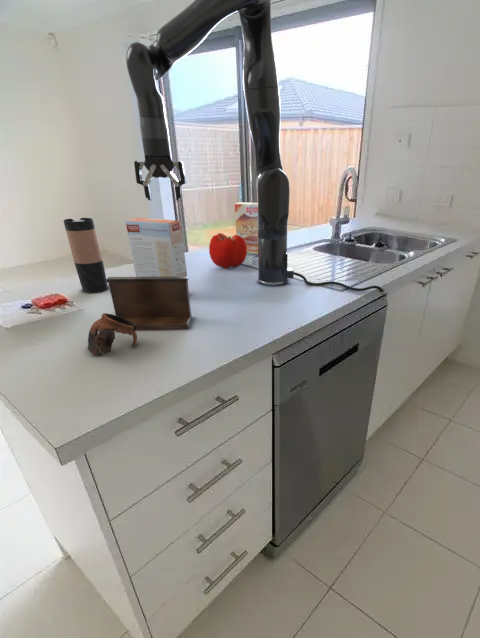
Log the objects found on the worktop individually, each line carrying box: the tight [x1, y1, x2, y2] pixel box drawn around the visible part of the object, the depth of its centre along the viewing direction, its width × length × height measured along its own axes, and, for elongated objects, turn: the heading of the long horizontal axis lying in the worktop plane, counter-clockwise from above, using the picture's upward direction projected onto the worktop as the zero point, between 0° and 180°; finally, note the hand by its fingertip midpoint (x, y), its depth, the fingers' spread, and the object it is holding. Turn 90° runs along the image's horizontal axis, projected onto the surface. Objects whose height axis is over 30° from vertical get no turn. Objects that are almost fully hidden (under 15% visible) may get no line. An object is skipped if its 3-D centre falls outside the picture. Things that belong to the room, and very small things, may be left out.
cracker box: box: [125, 217, 190, 292], centre depth 105 cm, size 14×6×21 cm, turn 71°
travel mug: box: [63, 217, 109, 294], centre depth 109 cm, size 8×8×20 cm
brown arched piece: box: [87, 313, 138, 356], centre depth 78 cm, size 12×10×8 cm
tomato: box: [208, 232, 248, 270], centre depth 136 cm, size 13×14×12 cm
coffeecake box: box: [234, 201, 258, 256], centre depth 154 cm, size 15×7×20 cm, turn 81°
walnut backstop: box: [106, 275, 193, 331], centre depth 88 cm, size 19×7×11 cm, turn 94°
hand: (164, 200), depth 113 cm, fingers open, 8 cm apart
